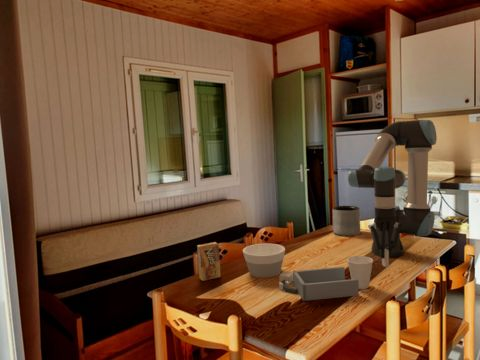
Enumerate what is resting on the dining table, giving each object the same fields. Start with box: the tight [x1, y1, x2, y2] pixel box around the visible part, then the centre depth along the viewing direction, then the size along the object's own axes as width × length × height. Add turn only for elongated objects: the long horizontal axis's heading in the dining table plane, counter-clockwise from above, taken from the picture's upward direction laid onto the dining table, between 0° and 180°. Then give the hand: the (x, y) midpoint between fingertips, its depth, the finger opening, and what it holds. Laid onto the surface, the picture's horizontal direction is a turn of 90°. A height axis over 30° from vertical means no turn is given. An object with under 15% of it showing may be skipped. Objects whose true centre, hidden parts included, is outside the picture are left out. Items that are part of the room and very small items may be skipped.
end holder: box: [292, 266, 360, 302], centre depth 151 cm, size 21×15×6 cm
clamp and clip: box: [278, 271, 293, 291], centre depth 160 cm, size 8×12×3 cm, turn 6°
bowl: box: [242, 243, 286, 279], centre depth 175 cm, size 19×19×11 cm
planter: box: [331, 205, 361, 237], centre depth 234 cm, size 16×16×16 cm
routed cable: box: [281, 280, 298, 294], centre depth 156 cm, size 5×13×1 cm, turn 6°
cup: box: [346, 255, 374, 290], centre depth 152 cm, size 10×10×11 cm
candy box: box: [196, 241, 221, 281], centre depth 171 cm, size 9×4×15 cm, turn 116°
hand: (385, 265), depth 153 cm, fingers closed
